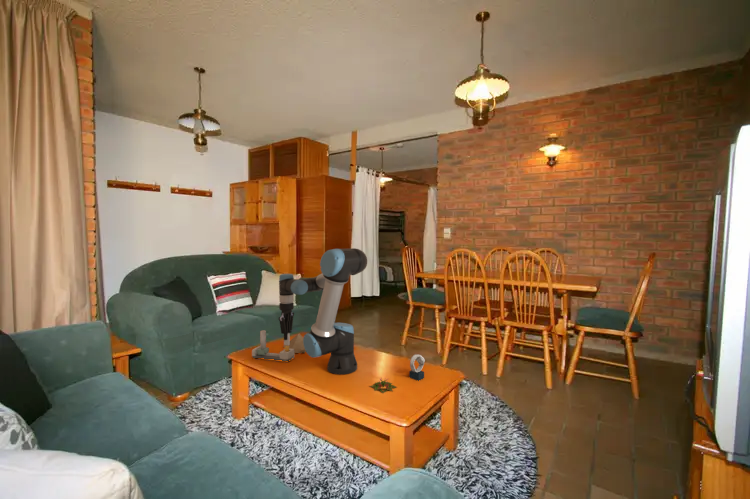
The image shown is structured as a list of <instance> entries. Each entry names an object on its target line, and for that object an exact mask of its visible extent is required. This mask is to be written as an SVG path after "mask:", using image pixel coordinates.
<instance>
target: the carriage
mask: <svg viewBox="0 0 750 499" xmlns="http://www.w3.org/2000/svg"><path fill="white" fill-rule="evenodd" d="M259 332H260V333H259V335H260V336H259V340H260V344H259V346H260V349H258V350H257V352H258V355H265V353H269V352H270V347H268V346H267V331H266V330H264V329H263V330H260V331H259Z"/></svg>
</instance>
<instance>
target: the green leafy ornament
mask: <svg viewBox="0 0 750 499" xmlns="http://www.w3.org/2000/svg"><path fill="white" fill-rule="evenodd" d="M392 384H393V382H390V381H388V379H384V380H383V378H382V377H380V379H379V380H378V381H377V382H374V384H373V385H370V386H369V387H370V388H373V389H374V390H373V391H374V392H375V391H378V390H379V391H380V392H381V393H382V394H384V393H386V392H387V391H389V392H390V391H391V392H393V389H395V388H397V386H395V385H392Z"/></svg>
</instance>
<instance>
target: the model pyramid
mask: <svg viewBox="0 0 750 499" xmlns="http://www.w3.org/2000/svg"><path fill="white" fill-rule="evenodd" d="M303 338H304V336H303V335H301V333H297V334H296V335H295V336H294V337H292V338H291V339H290V345H289V349H294V355H296V354H295V353H300V354H301V353H302V354H306V353H307V352H306V350H305V348H304V344H303ZM283 347H284V348H285V345H283V346H282V348H283ZM284 348H283V349H284ZM305 352H306V353H305Z"/></svg>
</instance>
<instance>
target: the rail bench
mask: <svg viewBox="0 0 750 499" xmlns="http://www.w3.org/2000/svg"><path fill="white" fill-rule="evenodd" d="M258 349H260V345H258V346H256V347H255V348H253V349H251V358H252V357H253V358H264V359H274V360H282V361H289V360H291V359H292V358H293V359H295V354H294V349H289V351H288V352H286V351H285V349H284V348H283V350H281V351H280V352H279V353H277V352H268V353H265V355H258V352H257V350H258ZM293 359H292V360H293ZM292 360H291V361H292ZM289 362H290V361H289Z"/></svg>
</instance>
